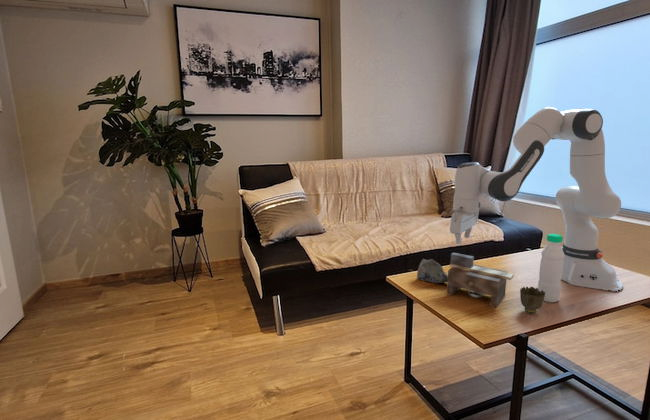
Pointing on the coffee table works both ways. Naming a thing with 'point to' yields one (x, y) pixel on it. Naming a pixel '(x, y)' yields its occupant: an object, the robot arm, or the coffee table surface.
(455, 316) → the coffee table surface
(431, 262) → the mineral rock
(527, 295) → the cup
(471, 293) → the steel disc
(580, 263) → the robot arm
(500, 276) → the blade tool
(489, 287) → the brown bridge block
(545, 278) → the water bottle
